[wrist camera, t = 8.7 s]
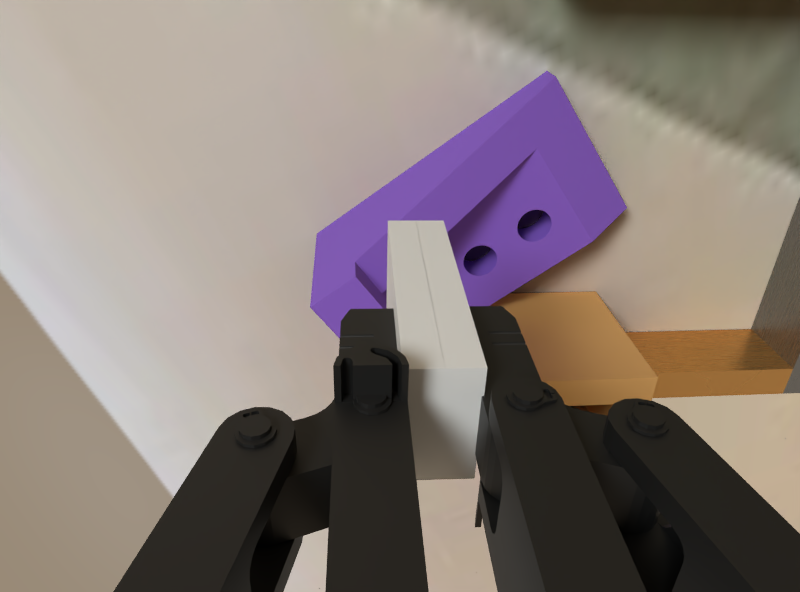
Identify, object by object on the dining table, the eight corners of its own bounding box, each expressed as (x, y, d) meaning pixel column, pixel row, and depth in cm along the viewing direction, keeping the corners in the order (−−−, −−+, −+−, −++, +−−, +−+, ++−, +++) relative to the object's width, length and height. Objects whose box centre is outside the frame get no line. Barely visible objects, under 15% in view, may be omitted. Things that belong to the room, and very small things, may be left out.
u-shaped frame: (937, -78, 24) (1025, -81, 20) (768, 351, 33) (811, 392, 30) (542, -91, 22) (574, -96, 19) (489, 359, 32) (504, 403, 29)
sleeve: (595, 291, 31) (658, 377, 25) (575, 387, 34) (626, 484, 28) (476, 293, 30) (510, 382, 24) (467, 390, 33) (495, 490, 27)
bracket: (402, 329, 31) (416, 419, 25) (317, 230, 28) (310, 307, 22) (613, 195, 28) (684, 261, 23) (544, 69, 25) (605, 108, 20)
